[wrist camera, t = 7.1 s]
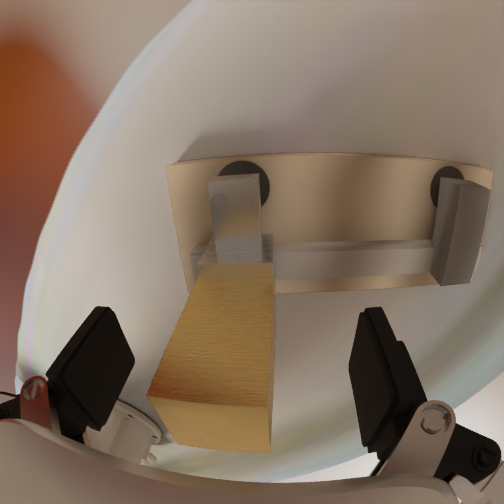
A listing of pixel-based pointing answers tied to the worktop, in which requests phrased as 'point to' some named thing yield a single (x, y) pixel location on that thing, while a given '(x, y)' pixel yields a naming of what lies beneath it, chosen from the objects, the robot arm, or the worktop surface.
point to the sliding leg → (225, 333)
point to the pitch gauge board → (347, 218)
